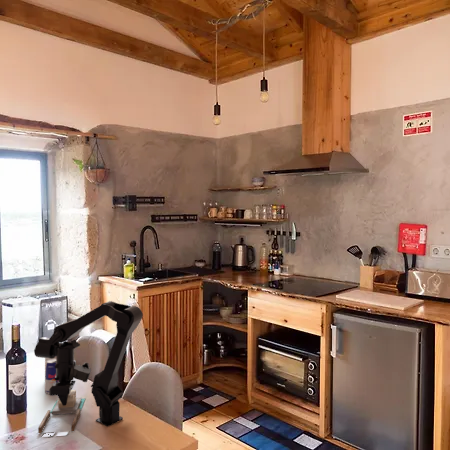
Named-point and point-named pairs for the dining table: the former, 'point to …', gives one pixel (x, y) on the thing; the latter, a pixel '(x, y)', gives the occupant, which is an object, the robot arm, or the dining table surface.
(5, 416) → the dining table surface
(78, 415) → the channel
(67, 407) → the sled
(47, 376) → the energy drink
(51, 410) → the mat
